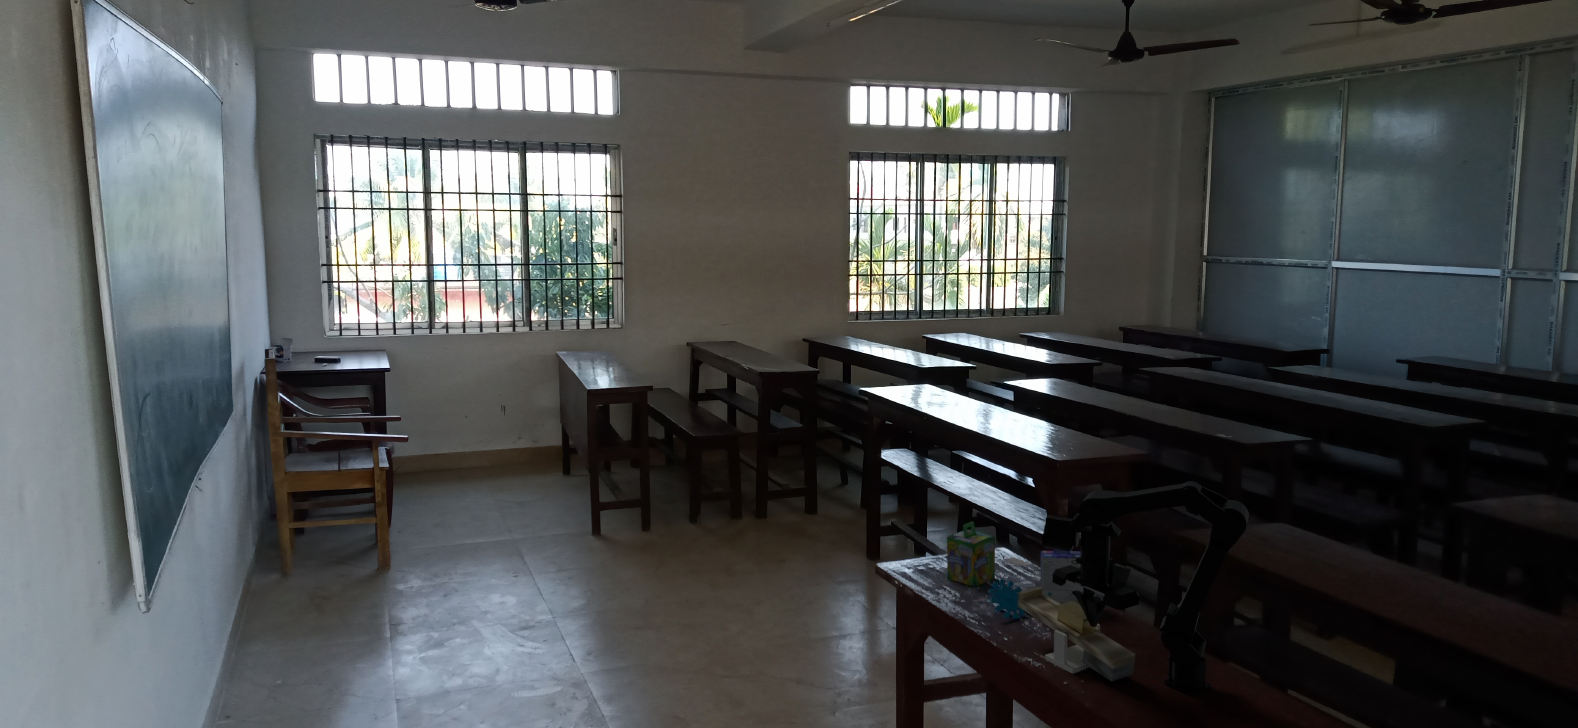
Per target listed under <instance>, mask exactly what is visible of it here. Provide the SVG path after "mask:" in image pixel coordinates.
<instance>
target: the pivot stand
mask: <svg viewBox="0 0 1578 728" xmlns="http://www.w3.org/2000/svg"><path fill="white" fill-rule="evenodd" d="M1096 627H1098V628H1100V629H1101V624H1099V623H1098V624H1097V626H1096ZM1099 632H1100V633H1101V630H1100V631H1099ZM1083 652H1084V649H1083V648H1081V647H1080V646H1078V645H1077V644H1075V645H1072V646H1068V639H1067V635H1066V634H1064V633H1062V632H1060V631H1058V630H1053V652H1051V653H1047V654H1044V660H1045V661H1047V662H1049V663H1051V664H1053V665H1055V666H1057V667H1059V668H1060V669H1062V670H1065V671H1067V672H1068V673H1070V674H1072V675H1073V674H1076V673H1079V672H1082V671H1085V670H1087V669H1086V668H1088V669H1090V668H1089V666H1087V665H1086V664H1084V663H1083V662H1082V661H1083ZM1084 669H1085V670H1084ZM1081 670H1082V671H1081Z"/></svg>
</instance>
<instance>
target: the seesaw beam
mask: <svg viewBox="0 0 1578 728" xmlns="http://www.w3.org/2000/svg"><path fill="white" fill-rule="evenodd" d="M1042 589H1043V588H1042V587H1041V585H1039V586H1036V587H1032V588H1031V587H1030V588H1029V589H1025V590H1022V591H1021V592H1019V593H1018V595H1019V598H1018V607H1020V608H1021V609H1022V610H1023V611H1024V612H1025V613H1027V614H1029V615H1030V616H1032V617H1034V619H1037V620H1038V621H1040V622H1041V623H1043V624H1044V625H1046V626H1048V627H1049V628H1050V629H1052V630H1053V631H1055V630H1058V631H1060V632H1062V633H1064V634H1066V635H1067V640H1068V641H1070V642H1072V643H1074V644H1075V645H1078V646H1080V647H1081V648H1083V649H1084V652H1083V661H1082V662H1083V663H1084V664H1086V665H1087V666H1089V667H1090V668H1089V669H1091V670H1094V671H1095V672H1097V673H1098V674H1099V675H1100V676H1102V677H1104V678H1105V679H1107V680H1108V681H1110V682H1111V683H1112V682H1114V681H1118V680H1121V679H1124V678H1126V677H1129V676H1132V675H1134V668H1135V662H1136V661H1135V660H1136V655H1137V654H1136V653H1134V652H1133V651H1131V650H1130V649H1127V648H1126V647H1124V646H1122V645H1121V644H1120V643H1118V642H1116V641H1115V640H1113V639H1111V638H1110V637H1108V636H1106V635H1105V634H1103V633H1102V632H1101V627H1100V628H1098V627H1096V629H1095V633H1092V634H1089V635H1086V636H1083V637H1080V634H1078V633H1077V632H1075V631H1074V630H1072V629H1070V628H1069V627H1067V626H1066V625H1064V624H1063V623H1061V622H1059V621H1058V620H1057V617H1058V608H1059V605H1060V604H1059V603H1057V602H1056V601H1054V600H1053V599H1051V598H1049V597H1048V596H1046V595H1045V594H1042ZM1099 631H1100V632H1099Z"/></svg>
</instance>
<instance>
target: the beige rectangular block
mask: <svg viewBox="0 0 1578 728" xmlns="http://www.w3.org/2000/svg"><path fill="white" fill-rule="evenodd" d="M1057 620H1058V621H1059V622H1061V623H1063V624H1064V625H1066V626H1067V627H1069V628H1070V629H1072V630H1074V631H1075V632H1077V633H1078V634H1080V637H1083V636H1086V635H1089V634H1092V633H1095V629H1096V627H1092V626H1090V624H1089V622H1088V620H1087V618H1086V615H1085V613H1084V611H1083V609H1082V607H1081V606H1080V605H1079V604H1077V603H1076V602H1074V601H1070V602H1066V603H1063V604H1060V605H1059V608H1058V617H1057Z"/></svg>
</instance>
